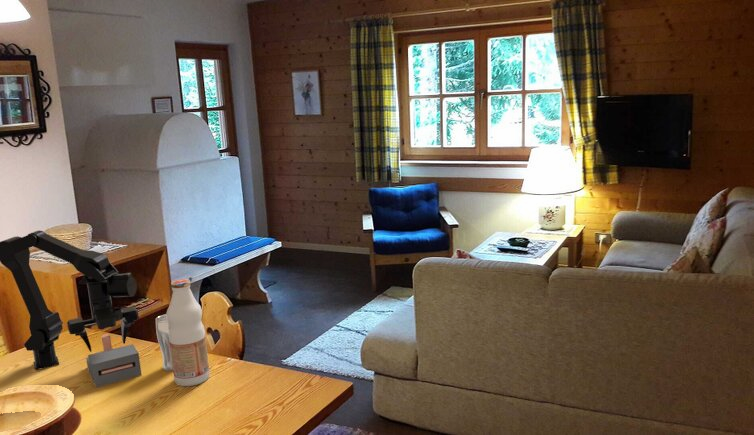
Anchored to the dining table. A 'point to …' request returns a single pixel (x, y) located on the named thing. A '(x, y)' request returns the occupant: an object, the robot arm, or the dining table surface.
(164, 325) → the beer glass
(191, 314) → the fruit juice
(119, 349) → the grey slotted box
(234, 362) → the dining table surface
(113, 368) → the pink t-shaped block
